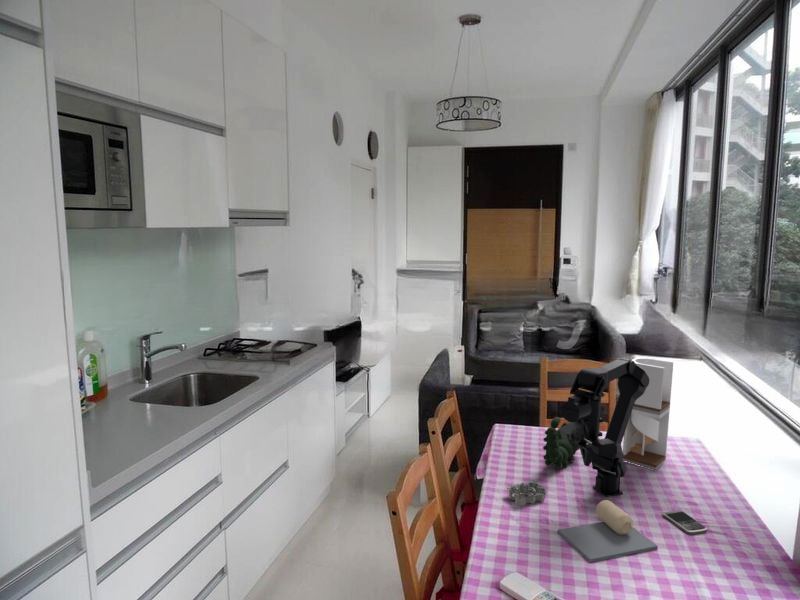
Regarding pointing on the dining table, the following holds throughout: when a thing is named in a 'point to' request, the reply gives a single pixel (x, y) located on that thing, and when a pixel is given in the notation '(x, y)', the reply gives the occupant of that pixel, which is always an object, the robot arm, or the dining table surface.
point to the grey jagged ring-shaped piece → (526, 492)
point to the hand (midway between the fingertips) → (586, 465)
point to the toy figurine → (558, 446)
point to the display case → (650, 416)
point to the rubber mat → (605, 541)
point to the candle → (614, 517)
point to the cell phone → (685, 522)
